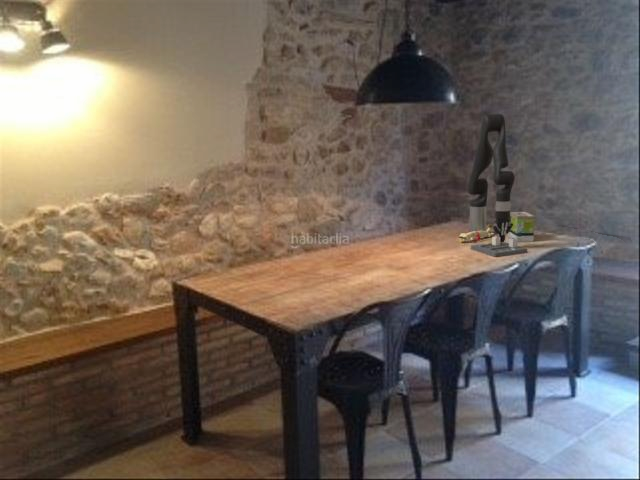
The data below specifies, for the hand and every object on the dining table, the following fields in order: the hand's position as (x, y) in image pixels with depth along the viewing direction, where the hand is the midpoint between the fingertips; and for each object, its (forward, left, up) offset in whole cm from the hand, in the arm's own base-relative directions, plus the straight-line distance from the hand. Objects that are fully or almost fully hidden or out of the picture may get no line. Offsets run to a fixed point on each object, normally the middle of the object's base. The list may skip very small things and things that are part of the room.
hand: (501, 241), depth 307 cm
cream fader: (0, -4, -1) cm, 4 cm away
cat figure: (-24, +1, -4) cm, 24 cm away
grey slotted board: (+4, -5, -4) cm, 7 cm away
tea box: (-12, +23, -4) cm, 26 cm away
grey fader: (+8, +1, -1) cm, 8 cm away
